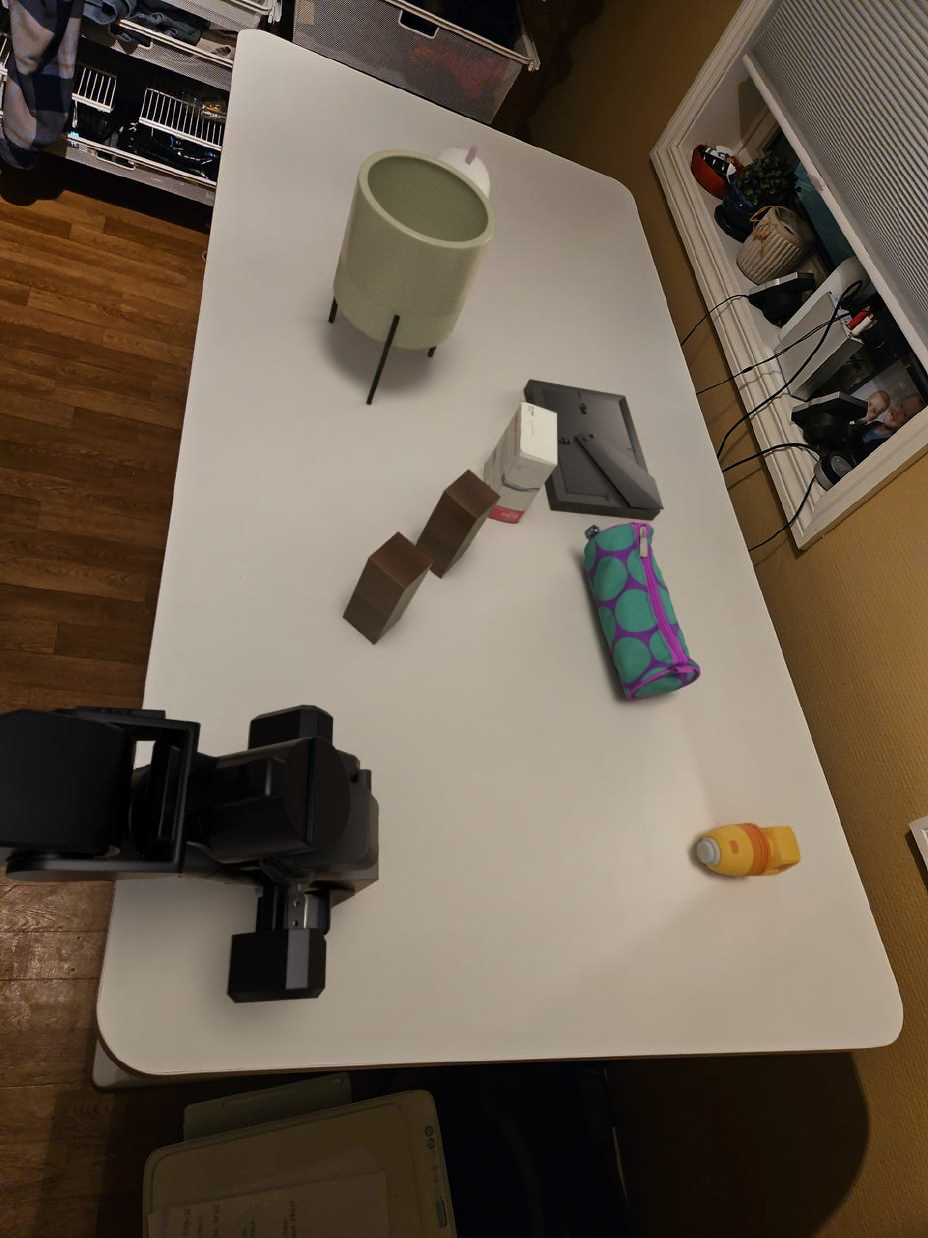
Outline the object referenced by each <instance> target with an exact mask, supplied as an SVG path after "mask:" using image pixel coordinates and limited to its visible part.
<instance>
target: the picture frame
mask: <svg viewBox="0 0 928 1238" xmlns="http://www.w3.org/2000/svg"><path fill="white" fill-rule="evenodd" d="M523 393H524V394H523V395H524V398H525V402H526V403H529V404H532V405H535V406H538V407H541V408H544V409H547V410H550V411H553V412H556V413H557V466H556V467H555V468H554V470H553V471H552V473H551V474H550V476H549V477H548V478H547V480H546V481H545V483H544V487H545V491H546V495H547V496H546V497H547V500H548V504H549V510H550V511H555V512H564V513H565V512H566V513H577V514H586V515H596V516H605V517H614V518H623V519H624V518H625V519H635V520H644V521H654V519H656V517H657V516H659V514H660V513H661V510H663V511H664V508H665V507H664V505H663V502H662V498H661V495H660V492H659V489H658V485H657V483H656V479H655V478H654V477H653V476H652V475H651V474H650V473H649V469H648V465H647V463H646V462H647V461H646V460H645V456H644V453H643V449H642V446H641V442H640V440H639V436H638V433H637V430H636V427H635V424H634V420H633V417H632V413H631V411H630V407H629V404H628V401H627V397H626V395H624V394H617V393H611V392H607V391H600V390H595V389H589V388H584V387H577V386H572V385H566V384H561V383H560V384H559V383H554V382H548V381H542V380H538V379H537V380H536V379H531V378H529V379H528V381H527V383H526V384H525V386H524V388H523Z"/></svg>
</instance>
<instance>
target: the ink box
mask: <svg viewBox="0 0 928 1238" xmlns="http://www.w3.org/2000/svg"><path fill="white" fill-rule="evenodd" d="M519 403H520V404H519V405H518V407H517V409H516V411H515V413H514V414H513V415H512V417H511V419H510V421H509V422H508V424H507V426H506V427H505V429H504V431H503V432H502V434H501V436H500V438H499V439H498V441H497V443H496V445H495V447H493V450H492V452H491V453H490V455H489V457H488V458H487V459H486V462H485V463H484V480H483V482H484V483H486V484H487V485H488V486H489V487H490V488H492V489H493V490H494V491H495V492H496V493H497V494H499V495H500V496H501V497H500V499H499V500H498V502H497V504H496V505H495V507H494V508H493V510H492V511H491V513H490V514H489V516H488V518H491V519H495V520H498V521H501V522H507V523H511V524H518V523H519V522H520V520H521V518H522V517H523V516H524V514H525V512H526V511H527V509H528V508H529V507H530V505H531V503H532V502H533V501H534V499H535V497H536V496H537V495H538V493H539V491H541V489H542V487H544V485H545V481H546V480H547V478H548V477H549V476H550V474H551V473H552V471H553V470H554V468H555V467H556V466H557V413H556V412H553V411H550V410H547V409H544V408H541V407H538V406H535V405H532V404H529V403H526V401H521V402H519Z"/></svg>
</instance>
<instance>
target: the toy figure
mask: <svg viewBox="0 0 928 1238" xmlns="http://www.w3.org/2000/svg"><path fill="white" fill-rule="evenodd" d="M696 855H697V857H698V859H699V861H700V862H701V863H703V864H705V865H706V867H707V869H709V870H711V871H713V872H715V873H718V874H722V875H726V876H727V875H728V876H733V877H750V876H752V877H765V876H766V877H767V876H777V875H779V874H782V873H784V872H785V871H787V870H789V869H792V868H793V867H795V866H797V865H798V864H799V863H800V862H801V851H800V847H799V843H798V840H797V837H796V835H795V832H794V831H793V829H792V827H791V826H789V825H775V826H767V827H766V826H765V827H760V826H759V825H757V824H756V823H753V822H744V823H732V824H725V825H723V826H719V827H717V828H714V829H712V830H710V831H708V832H707V833H705V834H704V836H703V838H702V839H701V841H700V842H698V844H697V846H696Z"/></svg>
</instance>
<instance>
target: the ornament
mask: <svg viewBox="0 0 928 1238" xmlns="http://www.w3.org/2000/svg"><path fill="white" fill-rule="evenodd" d="M478 148H479V147H478V146H476V145H474V144H472V145H471V146H470V147H469V150H468V149H466V148H463V147H458V146H457V147H448V148H445V149H442V150H441V151H439V152H437V153H436V154H435V155H434V156H432V157H433V158H436V159H438V160H440V161H442V162H444V163H446V164H448V165H450V166H452V167H454V168H455V169H457V170H458V171H460V172H461V173H463V174H464V175H465V176H467V177H468V178H469V179H470V180H472V181H473V182H474V183H475V184H476V185H477V186H478V187H479V188H480V189H481V191H482V192H483V193H484V194H485V195H486V197H487V198H488V199H489V197H490V194H491V193H490V192H491V180H490V179H491V178H490V175H489V172H488V169H487V167H486V165H485V163H484V162H483V160H482V159H481V158H480V157H479V156H477V152H478Z"/></svg>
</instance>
